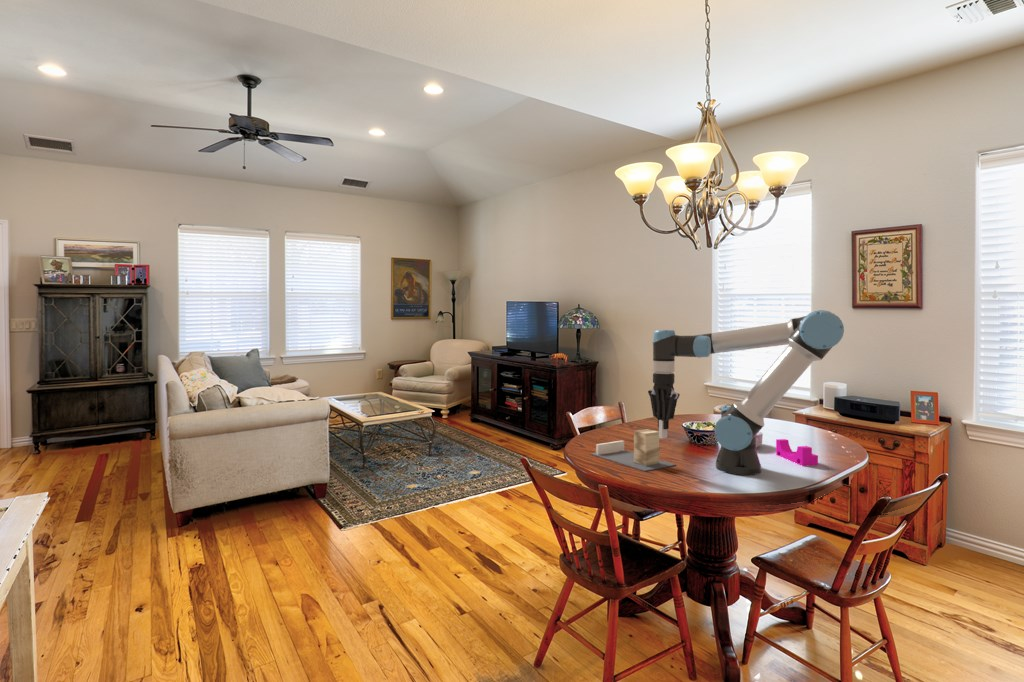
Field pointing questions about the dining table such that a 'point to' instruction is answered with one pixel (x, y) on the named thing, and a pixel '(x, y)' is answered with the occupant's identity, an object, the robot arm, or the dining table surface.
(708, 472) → the dining table surface
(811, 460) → the toy block
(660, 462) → the gray ramp
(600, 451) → the stop rail
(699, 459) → the dining table surface
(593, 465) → the dining table surface
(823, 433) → the dining table surface
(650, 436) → the beech block
